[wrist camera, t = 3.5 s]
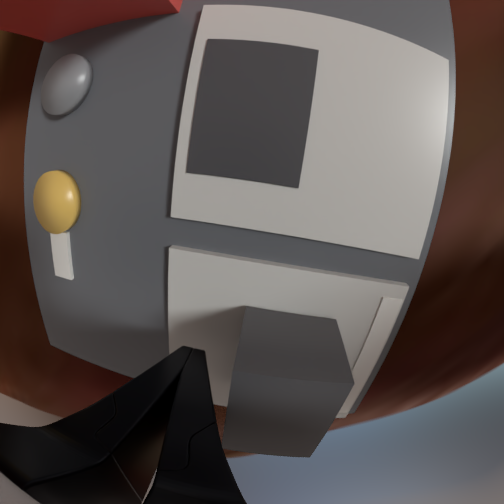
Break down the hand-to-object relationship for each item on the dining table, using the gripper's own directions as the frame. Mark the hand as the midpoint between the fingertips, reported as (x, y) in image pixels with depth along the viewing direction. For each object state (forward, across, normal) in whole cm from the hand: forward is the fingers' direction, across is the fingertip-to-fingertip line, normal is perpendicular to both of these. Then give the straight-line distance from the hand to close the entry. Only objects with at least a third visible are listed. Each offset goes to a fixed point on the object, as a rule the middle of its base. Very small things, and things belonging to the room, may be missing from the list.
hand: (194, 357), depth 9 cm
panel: (+3, +1, -7) cm, 8 cm away
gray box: (+1, -3, 0) cm, 3 cm away
